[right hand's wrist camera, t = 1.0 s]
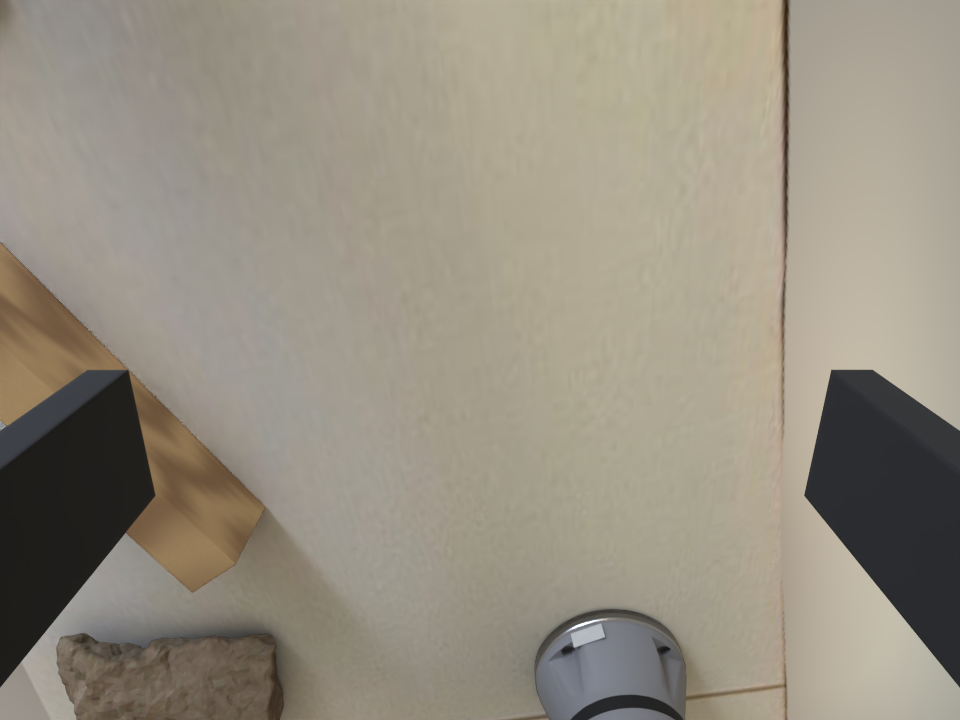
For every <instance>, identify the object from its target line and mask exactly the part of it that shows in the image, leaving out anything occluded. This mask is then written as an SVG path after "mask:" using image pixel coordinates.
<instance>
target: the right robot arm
mask: <svg viewBox="0 0 960 720" xmlns="http://www.w3.org/2000/svg"><path fill="white" fill-rule="evenodd" d="M155 496H156V495H155V490H154V486H153V481H152V476H151V472H150V467H149V462H148V458H147V453H146V449H145V444H144V439H143V435H142V430H141V425H140V421H139V416H138V412H137V407H136V402H135V398H134V393H133V388H132V384H131V379H130V374H129V370H87V371H85V372H84V373H82V374H81V375H80V376H78V377H77V378H75V379H74V380H72V381H71V382H70V383H68V384H67V385H65V386H64V387H62V388H61V389H60V390H58V391H57V392H55V393H54V394H52V395H51V396H50V397H48V398H47V399H45V400H44V401H42V402H41V403H40V404H38V405H37V406H35V407H34V408H32V409H31V410H29V411H28V412H27V413H25V414H24V415H22V416H21V417H19V418H18V419H17V420H15V421H14V422H12V423H11V424H9V425H8V426H7V427H5V428H4V429H2V430H1V431H0V687H1V686H2V685H3V683H4V682H5V681H6V680H7V678H8V677H9V676H10V675H11V673H12V672H13V671H14V670H15V669H16V667H17V666H18V665H19V664H20V662H21V661H22V660H23V659H24V657H25V656H26V655H27V654H28V653H29V651H30V650H31V649H32V648H33V646H34V645H35V644H36V643H37V641H38V640H39V639H40V638H41V636H42V635H43V634H44V633H45V632H46V630H47V629H48V628H49V627H50V625H51V624H52V623H53V622H54V620H55V619H56V618H57V617H58V615H59V614H60V613H61V612H62V611H63V609H64V608H65V607H66V606H67V604H68V603H69V602H70V601H71V599H72V598H73V597H74V596H75V594H76V593H77V592H78V591H79V590H80V588H81V587H82V586H83V585H84V583H85V582H86V581H87V580H88V578H89V577H90V576H91V575H92V574H93V572H94V571H95V570H96V569H97V567H98V566H99V565H100V564H101V562H102V561H103V560H104V559H105V557H106V556H107V555H108V554H109V553H110V551H111V550H112V549H113V548H114V546H115V545H116V544H117V543H118V541H119V540H120V539H121V538H122V536H123V535H124V534H125V533H126V532H127V530H128V529H129V528H130V527H131V525H132V524H133V523H134V522H135V520H136V519H137V518H138V517H139V516H140V514H141V513H142V512H143V511H144V509H145V508H146V507H147V506H148V504H149V503H150V502H151V501H152V499H153V498H154V497H155ZM804 496H805V497H806V498H807V499H808V501H809V502H810V503H811V504H812V506H813V507H814V508H815V509H816V510H817V512H818V513H819V514H820V516H821V517H822V518H823V519H824V520H825V522H826V523H827V524H828V525H829V527H830V528H831V529H832V530H833V531H834V533H835V534H836V535H837V536H838V538H839V539H840V540H841V541H842V543H843V544H844V545H845V546H846V548H847V549H848V550H849V551H850V552H851V554H852V555H853V556H854V557H855V559H856V560H857V561H858V562H859V564H860V565H861V566H862V567H863V569H864V570H865V571H866V572H867V573H868V575H869V576H870V577H871V578H872V580H873V581H874V582H875V583H876V585H877V586H878V587H879V588H880V590H881V591H882V592H883V593H884V594H885V596H886V597H887V598H888V599H889V601H890V602H891V603H892V604H893V605H894V607H895V608H896V609H897V611H898V612H899V613H900V614H901V615H902V617H903V618H904V619H905V620H906V622H907V623H908V624H909V625H910V627H911V628H912V629H913V630H914V632H915V633H916V634H917V635H918V636H919V638H920V639H921V640H922V641H923V643H924V644H925V645H926V646H927V647H928V649H929V650H930V651H931V653H932V654H933V655H934V656H935V657H936V659H937V660H938V661H939V662H940V664H941V665H942V666H943V667H944V669H945V670H946V671H947V672H948V673H949V675H950V676H951V677H952V678H953V680H954V681H955V682H956V683H957V685H958V686H959V687H960V431H959V430H958V429H956V428H955V427H953V426H952V425H951V424H949V423H948V422H946V421H945V420H943V419H942V418H940V417H939V416H938V415H936V414H935V413H933V412H932V411H930V410H929V409H928V408H926V407H925V406H923V405H922V404H920V403H919V402H917V401H916V400H915V399H913V398H912V397H910V396H909V395H908V394H906V393H905V392H903V391H902V390H900V389H899V388H898V387H896V386H895V385H893V384H892V383H890V382H889V381H888V380H886V379H885V378H883V377H882V376H880V375H879V374H878V373H876V372H875V371H873V370H831V375H830V379H829V384H828V388H827V393H826V398H825V402H824V407H823V412H822V416H821V421H820V425H819V430H818V435H817V439H816V444H815V449H814V453H813V458H812V462H811V467H810V472H809V477H808V481H807V486H806V490H805V495H804ZM535 681H536V689H537V693H538V696H539V699H540V701H541V704H542V706H543V708H544V710H545V712H546V714H547V716H548V718H549V720H685V706H686V667H685V662H684V659H683V656H682V653H681V650H680V648H679V645H678V643H677V641H676V639H675V638H674V636H673V635H672V634H671V632H670V631H669V630H668V629H667V628H666V627H665V626H663V625H662V624H661V623H659V622H658V621H656V620H654V619H652V618H650V617H648V616H646V615H643V614H640V613H637V612H632V611H627V610H600V611H594V612H590V613H586V614H583V615H580V616H577V617H575V618H573V619H571V620H569V621H567V622H565V623H563V624H562V625H560V626H559V627H558V628H556V629H555V630H554V631H553V632H552V633H551V634H550V635H549V636H548V637H547V638H546V639H545V641H544V642H543V644H542V645H541V647H540V649H539V651H538V653H537V656H536V660H535Z"/></svg>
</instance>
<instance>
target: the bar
mask: <svg viewBox="0 0 960 720" xmlns="http://www.w3.org/2000/svg"><path fill="white" fill-rule="evenodd" d="M87 370H128V369H127V368H126V367H125V366H124V365H123V364H122V363H121V362H120V361H119V360H118V359H117V358H116V357H115V356H114V355H113V354H112V353H111V352H110V351H109V350H108V349H107V348H106V347H105V346H104V345H103V344H102V343H101V342H100V341H99V340H98V339H97V338H96V337H95V336H94V335H93V334H92V333H91V332H90V331H89V330H88V329H87V328H86V327H85V326H84V325H83V324H82V323H81V322H80V321H79V320H78V319H77V318H76V317H75V316H74V315H73V314H72V313H70V312H69V311H68V310H67V309H66V308H65V307H64V306H63V305H62V304H61V303H60V302H59V301H58V300H57V299H56V298H55V297H54V296H53V295H52V294H51V293H50V292H49V291H48V290H47V289H46V288H45V287H44V286H43V285H42V284H41V283H40V282H39V281H38V280H37V279H36V278H35V277H34V276H33V275H32V274H31V273H30V272H29V271H28V270H27V269H26V268H25V267H24V266H23V265H22V264H21V263H20V262H19V261H18V260H17V259H16V258H15V257H14V256H13V255H12V254H11V253H10V252H9V251H8V250H7V249H6V248H5V247H4V246H3V245H2V244H1V243H0V421H2V422H3V423H4V424H5V425H6V426H8V425H9V424H11V423H12V422H14V421H15V420H17V419H18V418H19V417H21V416H22V415H24V414H25V413H27V412H28V411H29V410H31V409H32V408H34V407H35V406H37V405H38V404H40V403H41V402H42V401H44V400H45V399H47V398H48V397H50V396H51V395H52V394H54V393H55V392H57V391H58V390H60V389H61V388H62V387H64V386H65V385H67V384H68V383H70V382H71V381H72V380H74V379H75V378H77V377H78V376H80V375H81V374H82V373H84V372H85V371H87ZM129 374H130V379H131V384H132V388H133V393H134V398H135V402H136V407H137V412H138V416H139V421H140V425H141V430H142V435H143V439H144V444H145V449H146V453H147V458H148V462H149V467H150V472H151V476H152V481H153V486H154V490H155V495H156V496H155V497H154V498H153V499H152V501H151V502H150V503H149V504H148V506H147V507H146V508H145V509H144V511H143V512H142V513H141V514H140V516H139V517H138V518H137V519H136V520H135V522H134V523H133V524H132V525H131V527H130V528H129V529H128V530H127V532H126V534H127V535H129V536H130V537H131V538H132V539H133V540H134V541H135V542H136V543H137V544H139V545H140V546H141V547H142V548H143V549H144V550H145V551H146V552H148V553H149V554H150V555H151V556H152V557H153V558H154V559H155V560H156V561H158V562H159V563H160V564H161V565H162V566H163V567H164V568H165V569H166V570H168V571H169V572H170V573H171V574H172V575H173V576H174V577H175V578H176V579H178V580H179V581H180V582H181V583H182V584H183V585H184V586H185V587H187V588H188V589H189V590H190V591H191V592H194V591H196V590H197V589H199V588H200V587H202V586H203V585H205V584H206V583H208V582H209V581H211V580H212V579H214V578H215V577H217V576H218V575H220V574H222V573H223V572H225V571H226V570H228V569H229V568H231V567H232V566H234V565H235V564H236V562H237V560H238V559H239V557H240V555H241V553H242V551H243V549H244V547H245V545H246V543H247V541H248V539H249V537H250V536H251V534H252V532H253V530H254V528H255V526H256V524H257V522H258V520H259V518H260V516H261V514H262V513H263V511H264V509H265V506H264V505H263V504H262V503H261V502H260V501H259V500H258V499H257V498H256V497H255V496H254V495H253V494H252V493H251V492H250V491H249V490H248V489H247V488H246V487H245V486H244V485H243V484H242V483H241V482H240V481H239V480H238V479H237V478H236V477H235V476H234V475H233V474H232V473H231V472H230V471H229V470H228V469H227V468H226V467H225V466H224V465H223V464H222V463H221V462H220V461H219V460H218V459H217V458H216V457H215V456H214V455H213V454H212V453H211V452H210V451H209V450H208V449H207V448H206V447H205V446H204V445H203V444H202V443H201V442H200V441H199V440H198V439H197V438H196V437H195V436H194V435H193V434H192V433H191V432H190V431H189V430H188V429H187V428H186V427H185V426H184V425H183V424H182V423H181V422H180V421H179V420H178V419H177V418H176V417H175V416H174V415H173V414H172V413H171V412H170V411H169V410H168V409H167V408H166V407H165V406H164V405H163V404H162V403H161V402H160V401H159V400H158V399H157V398H156V397H155V396H154V395H153V394H152V393H151V392H150V391H149V390H148V389H147V388H146V387H145V386H144V385H143V384H142V383H141V382H140V381H139V380H138V379H137V378H136V377H135V376H134V375H133V374H132V373H131V372H130V371H129Z"/></svg>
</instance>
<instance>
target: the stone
mask: <svg viewBox="0 0 960 720" xmlns="http://www.w3.org/2000/svg"><path fill="white" fill-rule="evenodd" d="M275 649H276V643H275V640H274V638H273V636H272V635H270V634H263V635H254V634H253V635H251V636H245V637H239V638H234V639H229V638H222V637H219V636H215V635H214V636H209V637H201V638H199V639H185V638H178V639H166V638H161V639H157V640H152V641H151V643H150V645H149V646H148V647H147V648H141V647H140V646H138V645H135V644H131V643H122V644H120V645H119V644H115V643H106V642H101V643H100V642H98V641H96V640H95V639H93V638H92V637H90V636H89V635H87V634H85V633H82V634H77V635H73V636H64V637H61V638H60V641H59V643H58V645H57V657H58V658H57V665H58V667H59V672H58V674H59V675H60V677H61V679H62V683H63V684H64V685H65V688H66V693H67V694H68V696H69V700H70V701H71V702H72V703H73V704H74V713H75V715H76V718H77V720H280V716H281V712H282V710H283V692H282V688H281V686H280V684H279V682H278V680H277V668H276V656H275V653H274V651H275Z"/></svg>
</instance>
